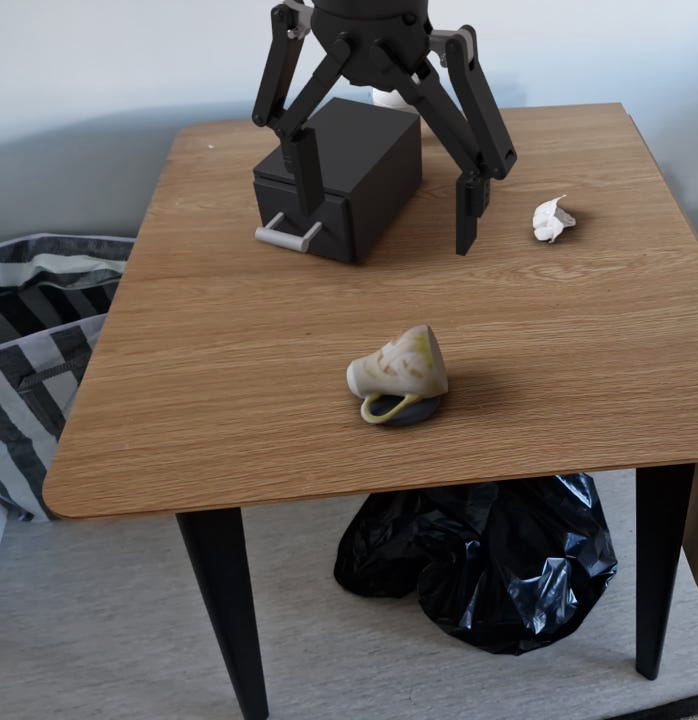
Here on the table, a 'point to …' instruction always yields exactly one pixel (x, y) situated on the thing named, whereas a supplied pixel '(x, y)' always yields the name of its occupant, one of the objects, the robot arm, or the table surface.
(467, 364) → the table surface
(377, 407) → the coaster
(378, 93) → the white rounded knobbed vessel
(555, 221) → the tissue
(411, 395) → the mug
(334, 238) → the drawer
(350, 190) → the cabinet
